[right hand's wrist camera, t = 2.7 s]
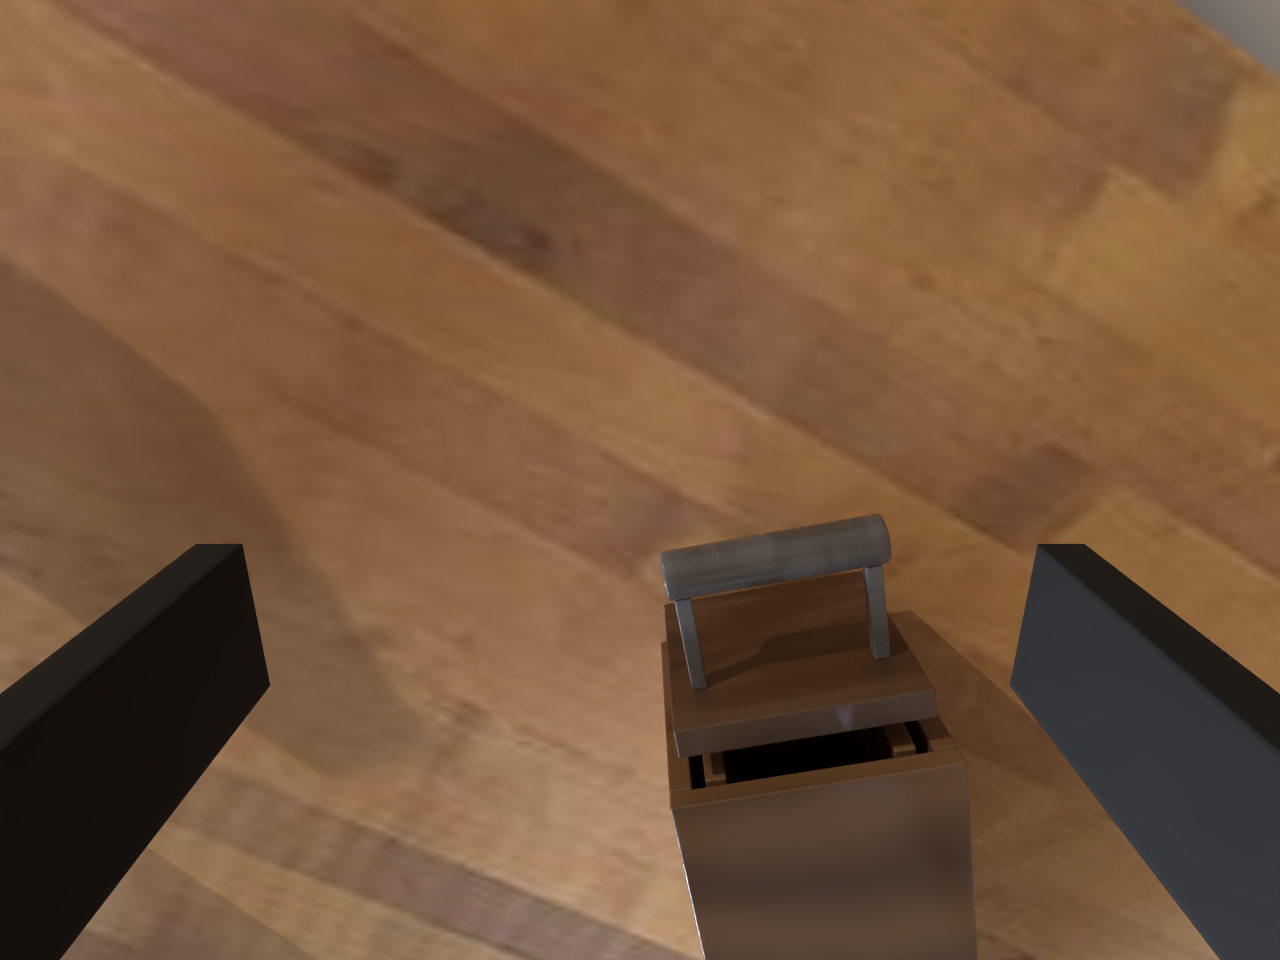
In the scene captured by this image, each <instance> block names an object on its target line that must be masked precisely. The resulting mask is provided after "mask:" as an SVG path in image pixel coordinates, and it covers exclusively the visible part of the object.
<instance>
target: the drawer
mask: <svg viewBox="0 0 1280 960" xmlns="http://www.w3.org/2000/svg"><path fill="white" fill-rule="evenodd" d="M660 559H661V567H662V573H663V579H664V584H665V589H666V594H667V597H668V599H669V600H671V601H672V600H674V601H675V603H673V604H667V605H665V620H666V634H667V648H668V663H669V677H670V691H671V706H672V720H673V733H674V737H675V742H676V747H677V751H678V756H679V758H685V757H691V756H697V755H702V759H703V767H704V776H705V783H706V787H712V786H718V785H724V784H731V783H737V782H743V781H750V780H756V779H763V778H769V777H775V776H782V775H788V774H794V773H801V772H807V771H813V770H820V769H826V768H833V767H839V766H845V765H852V764H858V763H864V762H871V761H877V760H884V759H890V758H896V757H903V756H909V755H915V754H917V752H916V747H915V745H914V743H913V741H912V739H911V737H910V735H909V733H908V731H907V729H906V727H905V725H904V722H910V721H916V720H922V719H929V718H935V717H937V709H936V695H935V689H934V687H933V685H932V684H931V682H930V681H929V679H928V677H927V676H926V674H925V672H924V671H923V669H922V668H921V666H920V664H919V663H918V661H917V659H916V658H915V656H914V655H913V653H912V651H911V650H910V648H909V646H908V645H907V643H906V642H905V640H904V638H903V637H902V635H901V633H900V632H899V630H898V629H897V627H896V625H895V624H894V622H893V621H892V619H891V617H890V616H889V614H888V612H887V611H886V600H885V589H884V578H883V568H882V565H881V564H886V563H888V562H889V561H890V559H891V544H890V538H889V534H888V530H887V527H886V524H885V522H884V520H883V518H882V517H881V516H880V515H879V514H872V515H867V516H861V517H855V518H850V519H844V520H838V521H833V522H827V523H821V524H816V525H810V526H804V527H799V528H793V529H787V530H782V531H776V532H770V533H765V534H759V535H753V536H748V537H742V538H736V539H731V540H725V541H719V542H714V543H708V544H703V545H697V546H691V547H686V548H680V549H674V550H669V551H663V552H661V554H660ZM857 568H862V569H863V572H862V571H858V572H853V573H847V574H841V575H835V576H829V577H824V578H818V579H812V580H806V581H800V582H795V583H789V584H783V585H777V586H771V587H766V588H760V589H754V590H748V591H742V592H737V593H731V594H725V595H719V596H713V597H708V598H702V599H696V600H691V597H695V596H701V595H707V594H713V593H718V592H724V591H730V590H736V589H742V588H747V587H753V586H759V585H765V584H770V583H776V582H782V581H788V580H794V579H799V578H805V577H811V576H817V575H823V574H828V573H834V572H840V571H846V570H852V569H857Z"/></svg>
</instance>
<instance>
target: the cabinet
mask: <svg viewBox="0 0 1280 960" xmlns="http://www.w3.org/2000/svg"><path fill="white" fill-rule="evenodd" d="M661 652H662V671H663V689H664V707H665V725H666V743H667V761H668V779H669V793H670V810H671V814H672V819H673V823H674V828H675V832H676V837H677V841H678V845H679V850H680V854H681V859H682V863H683V867H684V872H685V876H686V881H687V885H688V889H689V894H690V898H691V903H692V907H693V912H694V916H695V920H696V925H697V929H698V934H699V938H700V942H701V947H702V951H703V956H704V960H977V942H976V925H975V907H974V889H973V871H972V854H971V836H970V818H969V800H968V783H967V765H966V762H965V760H964V758H963V757H962V755H961V753H960V752H959V750H958V749H957V746H956V744H955V742H954V741H953V739H952V737H951V736H950V734H949V732H948V730H947V729H946V727H945V725H944V724H943V722H942V720H941V719H940V717H939V715H938V714H937V717H935V718H929V719H922V720H916V721H910V722H904V725H905V727H906V729H907V731H908V733H909V735H910V737H911V739H912V741H913V743H914V745H915V747H916V752H917V754H915V755H909V756H903V757H896V758H890V759H884V760H877V761H871V762H864V763H858V764H852V765H845V766H839V767H833V768H826V769H820V770H813V771H807V772H801V773H794V774H788V775H782V776H775V777H769V778H763V779H756V780H750V781H743V782H737V783H731V784H724V785H718V786H712V787H706V783H705V776H704V767H703V759H702V755H697V756H691V757H685V758H679V756H678V751H677V747H676V742H675V737H674V733H673V720H672V706H671V691H670V677H669V663H668V648H667V642H662V643H661Z"/></svg>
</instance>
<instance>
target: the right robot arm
mask: <svg viewBox="0 0 1280 960" xmlns="http://www.w3.org/2000/svg"><path fill="white" fill-rule="evenodd" d="M269 686H270V682H269V677H268V672H267V667H266V662H265V657H264V651H263V646H262V641H261V636H260V631H259V626H258V621H257V616H256V611H255V606H254V601H253V596H252V591H251V586H250V581H249V576H248V571H247V565H246V560H245V555H244V550H243V545H242V544H195V545H194V546H193V547H191V548H190V549H189V550H187V551H186V552H185V553H183V554H182V555H181V556H180V557H178V558H177V559H176V560H174V561H173V562H172V563H170V564H169V565H168V566H166V567H165V568H164V569H163V570H161V571H160V572H159V573H157V574H156V575H155V576H153V577H152V578H151V579H150V580H148V581H147V582H146V583H144V584H143V585H142V586H140V587H139V588H138V589H137V590H135V591H134V592H133V593H131V594H130V595H129V596H127V597H126V598H125V599H123V600H122V601H121V602H120V603H118V604H117V605H116V606H114V607H113V608H112V609H110V610H109V611H108V612H107V613H105V614H104V615H103V616H101V617H100V618H99V619H97V620H96V621H95V622H93V623H92V624H91V625H90V626H88V627H87V628H86V629H84V630H83V631H82V632H80V633H79V634H78V635H77V636H75V637H74V638H73V639H71V640H70V641H69V642H67V643H66V644H65V645H63V646H62V647H61V648H60V649H58V650H57V651H56V652H54V653H53V654H52V655H50V656H49V657H48V658H47V659H45V660H44V661H43V662H41V663H40V664H39V665H37V666H36V667H35V668H33V669H32V670H31V671H30V672H28V673H27V674H26V675H24V676H23V677H22V678H20V679H19V680H18V681H17V682H15V683H14V684H13V685H11V686H10V687H9V688H7V689H6V690H5V691H4V692H2V693H1V694H0V960H60V959H61V958H62V956H63V955H64V954H65V952H66V951H67V950H68V948H69V947H70V946H71V944H72V943H73V942H74V941H75V939H76V938H77V937H78V935H79V934H80V933H81V931H82V930H83V929H84V928H85V926H86V925H87V924H88V922H89V921H90V920H91V918H92V917H93V916H94V915H95V913H96V912H97V911H98V909H99V908H100V907H101V905H102V904H103V903H104V901H105V900H106V899H107V898H108V896H109V895H110V894H111V892H112V891H113V890H114V888H115V887H116V886H117V885H118V883H119V882H120V881H121V879H122V878H123V877H124V875H125V874H126V873H127V871H128V870H129V869H130V868H131V866H132V865H133V864H134V862H135V861H136V860H137V858H138V857H139V856H140V855H141V853H142V852H143V851H144V849H145V848H146V847H147V845H148V844H149V843H150V842H151V840H152V839H153V838H154V836H155V835H156V834H157V832H158V831H159V830H160V828H161V827H162V826H163V825H164V823H165V822H166V821H167V819H168V818H169V817H170V815H171V814H172V813H173V812H174V810H175V809H176V808H177V806H178V805H179V804H180V802H181V801H182V800H183V798H184V797H185V796H186V795H187V793H188V792H189V791H190V789H191V788H192V787H193V785H194V784H195V783H196V782H197V780H198V779H199V778H200V776H201V775H202V774H203V772H204V771H205V770H206V768H207V767H208V766H209V765H210V763H211V762H212V761H213V759H214V758H215V757H216V755H217V754H218V753H219V752H220V750H221V749H222V748H223V746H224V745H225V744H226V742H227V741H228V740H229V739H230V737H231V736H232V735H233V733H234V732H235V731H236V729H237V728H238V727H239V725H240V724H241V723H242V722H243V720H244V719H245V718H246V716H247V715H248V714H249V712H250V711H251V710H252V709H253V707H254V706H255V705H256V703H257V702H258V701H259V699H260V698H261V697H262V695H263V694H264V693H265V692H266V690H267V689H268V688H269ZM1010 686H1011V688H1012V689H1013V690H1014V692H1015V693H1016V694H1017V695H1018V697H1019V698H1020V699H1021V701H1022V702H1023V703H1024V705H1025V706H1026V707H1027V709H1028V710H1029V711H1030V712H1031V714H1032V715H1033V716H1034V718H1035V719H1036V720H1037V722H1038V723H1039V724H1040V725H1041V727H1042V728H1043V729H1044V731H1045V732H1046V733H1047V735H1048V736H1049V737H1050V739H1051V740H1052V741H1053V742H1054V744H1055V745H1056V746H1057V748H1058V749H1059V750H1060V752H1061V753H1062V754H1063V755H1064V757H1065V758H1066V759H1067V761H1068V762H1069V763H1070V765H1071V766H1072V767H1073V769H1074V770H1075V771H1076V772H1077V774H1078V775H1079V776H1080V778H1081V779H1082V780H1083V782H1084V783H1085V784H1086V785H1087V787H1088V788H1089V789H1090V791H1091V792H1092V793H1093V795H1094V796H1095V797H1096V798H1097V800H1098V801H1099V802H1100V804H1101V805H1102V806H1103V808H1104V809H1105V810H1106V812H1107V813H1108V814H1109V815H1110V817H1111V818H1112V819H1113V821H1114V822H1115V823H1116V825H1117V826H1118V827H1119V828H1120V830H1121V831H1122V832H1123V834H1124V835H1125V836H1126V838H1127V839H1128V840H1129V842H1130V843H1131V844H1132V845H1133V847H1134V848H1135V849H1136V851H1137V852H1138V853H1139V855H1140V856H1141V857H1142V858H1143V860H1144V861H1145V862H1146V864H1147V865H1148V866H1149V868H1150V869H1151V870H1152V871H1153V873H1154V874H1155V875H1156V877H1157V878H1158V879H1159V881H1160V882H1161V883H1162V885H1163V886H1164V887H1165V888H1166V890H1167V891H1168V892H1169V894H1170V895H1171V896H1172V898H1173V899H1174V900H1175V901H1176V903H1177V904H1178V905H1179V907H1180V908H1181V909H1182V911H1183V912H1184V913H1185V915H1186V916H1187V917H1188V918H1189V920H1190V921H1191V922H1192V924H1193V925H1194V926H1195V928H1196V929H1197V930H1198V931H1199V933H1200V934H1201V935H1202V937H1203V938H1204V939H1205V941H1206V942H1207V943H1208V944H1209V946H1210V947H1211V948H1212V950H1213V951H1214V952H1215V954H1216V955H1217V956H1218V958H1219V959H1220V960H1280V694H1279V693H1278V692H1276V691H1275V690H1274V689H1273V688H1271V687H1270V686H1269V685H1267V684H1266V683H1265V682H1263V681H1262V680H1261V679H1260V678H1258V677H1257V676H1256V675H1254V674H1253V673H1252V672H1250V671H1249V670H1248V669H1247V668H1245V667H1244V666H1243V665H1241V664H1240V663H1239V662H1237V661H1236V660H1235V659H1233V658H1232V657H1231V656H1230V655H1228V654H1227V653H1226V652H1224V651H1223V650H1222V649H1220V648H1219V647H1218V646H1217V645H1215V644H1214V643H1213V642H1211V641H1210V640H1209V639H1207V638H1206V637H1205V636H1203V635H1202V634H1201V633H1200V632H1198V631H1197V630H1196V629H1194V628H1193V627H1192V626H1190V625H1189V624H1188V623H1187V622H1185V621H1184V620H1183V619H1181V618H1180V617H1179V616H1177V615H1176V614H1175V613H1173V612H1172V611H1171V610H1170V609H1168V608H1167V607H1166V606H1164V605H1163V604H1162V603H1160V602H1159V601H1158V600H1157V599H1155V598H1154V597H1153V596H1151V595H1150V594H1149V593H1147V592H1146V591H1145V590H1143V589H1142V588H1141V587H1140V586H1138V585H1137V584H1136V583H1134V582H1133V581H1132V580H1130V579H1129V578H1128V577H1127V576H1125V575H1124V574H1123V573H1121V572H1120V571H1119V570H1117V569H1116V568H1115V567H1114V566H1112V565H1111V564H1110V563H1108V562H1107V561H1106V560H1104V559H1103V558H1102V557H1100V556H1099V555H1098V554H1097V553H1095V552H1094V551H1093V550H1091V549H1090V548H1089V547H1087V546H1086V545H1085V544H1038V545H1037V550H1036V555H1035V560H1034V565H1033V571H1032V576H1031V581H1030V586H1029V591H1028V596H1027V601H1026V606H1025V611H1024V616H1023V621H1022V626H1021V631H1020V636H1019V641H1018V646H1017V651H1016V657H1015V662H1014V667H1013V672H1012V677H1011V682H1010Z"/></svg>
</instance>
